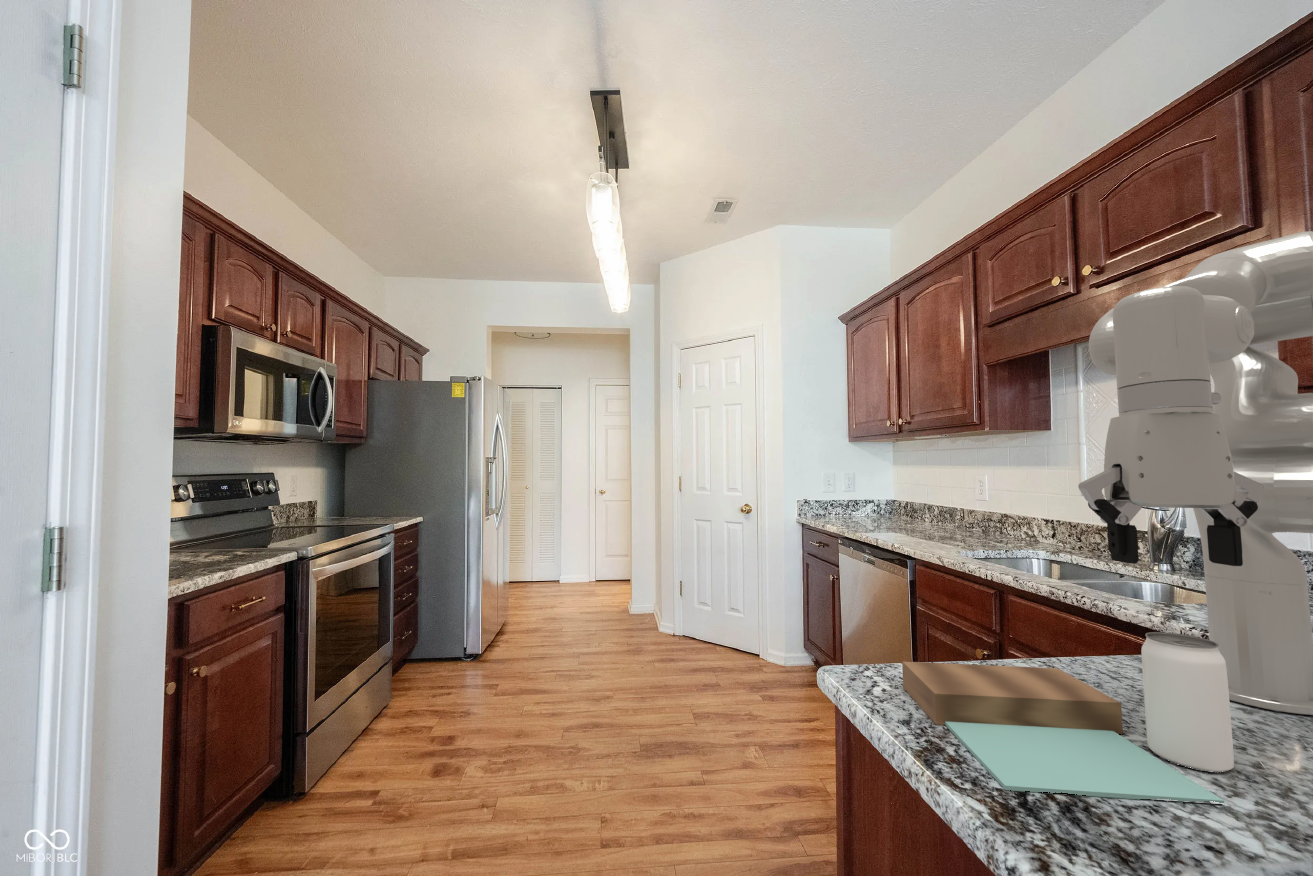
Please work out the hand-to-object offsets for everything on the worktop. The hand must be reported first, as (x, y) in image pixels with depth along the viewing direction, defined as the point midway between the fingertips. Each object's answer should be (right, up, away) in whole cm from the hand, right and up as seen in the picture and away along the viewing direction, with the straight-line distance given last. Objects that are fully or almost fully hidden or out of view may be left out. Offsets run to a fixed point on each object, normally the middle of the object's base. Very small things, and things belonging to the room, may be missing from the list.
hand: (1174, 563), depth 58 cm
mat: (-13, -20, -2) cm, 24 cm away
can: (0, -20, -2) cm, 20 cm away
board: (-12, -21, +11) cm, 26 cm away
